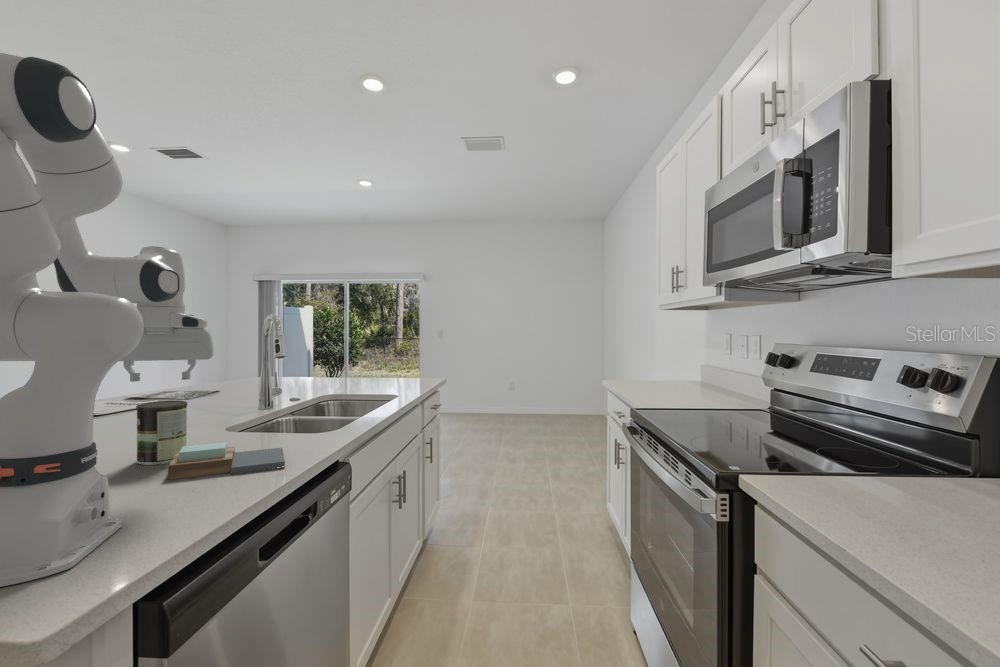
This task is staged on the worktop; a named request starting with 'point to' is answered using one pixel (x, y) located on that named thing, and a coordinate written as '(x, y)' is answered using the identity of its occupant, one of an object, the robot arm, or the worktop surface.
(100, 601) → the worktop surface
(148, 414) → the coffee can
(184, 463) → the brown square plate
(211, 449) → the block
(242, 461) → the grey flat slab
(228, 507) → the worktop surface
